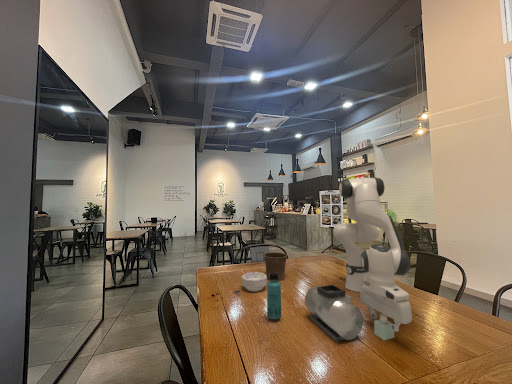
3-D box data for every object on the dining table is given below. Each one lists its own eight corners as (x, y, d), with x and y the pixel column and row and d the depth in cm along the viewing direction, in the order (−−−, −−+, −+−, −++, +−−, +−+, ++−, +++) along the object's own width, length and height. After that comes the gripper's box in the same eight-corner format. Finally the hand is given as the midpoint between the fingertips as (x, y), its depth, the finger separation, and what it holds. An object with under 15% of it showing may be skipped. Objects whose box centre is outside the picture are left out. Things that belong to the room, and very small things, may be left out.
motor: (322, 308, 108) (321, 276, 109) (364, 338, 84) (362, 296, 84) (300, 312, 104) (300, 279, 105) (337, 345, 80) (336, 301, 81)
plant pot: (291, 276, 156) (290, 253, 157) (281, 283, 142) (280, 258, 143) (271, 273, 165) (270, 251, 165) (259, 279, 151) (259, 255, 152)
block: (384, 331, 88) (383, 310, 89) (394, 337, 84) (393, 316, 85) (374, 333, 87) (373, 312, 87) (384, 340, 83) (383, 318, 83)
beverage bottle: (266, 315, 102) (265, 271, 103) (280, 315, 102) (279, 271, 103) (268, 323, 95) (267, 276, 96) (283, 322, 96) (282, 275, 97)
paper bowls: (253, 296, 124) (252, 281, 124) (237, 288, 135) (236, 275, 136) (272, 289, 134) (271, 275, 134) (255, 282, 145) (255, 270, 146)
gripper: (355, 280, 95) (357, 313, 94) (400, 298, 76) (402, 340, 75) (367, 278, 97) (368, 310, 96) (413, 296, 78) (416, 336, 77)
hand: (384, 324), depth 85 cm, fingers open, 8 cm apart
